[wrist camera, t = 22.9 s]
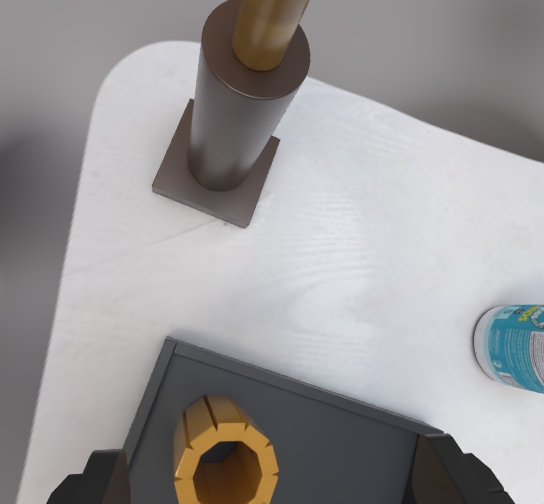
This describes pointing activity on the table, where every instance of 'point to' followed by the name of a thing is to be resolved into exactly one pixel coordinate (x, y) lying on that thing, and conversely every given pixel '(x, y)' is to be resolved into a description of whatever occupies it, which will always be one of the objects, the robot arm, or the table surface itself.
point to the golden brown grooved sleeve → (232, 470)
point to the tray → (274, 433)
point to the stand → (236, 107)
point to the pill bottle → (512, 345)
